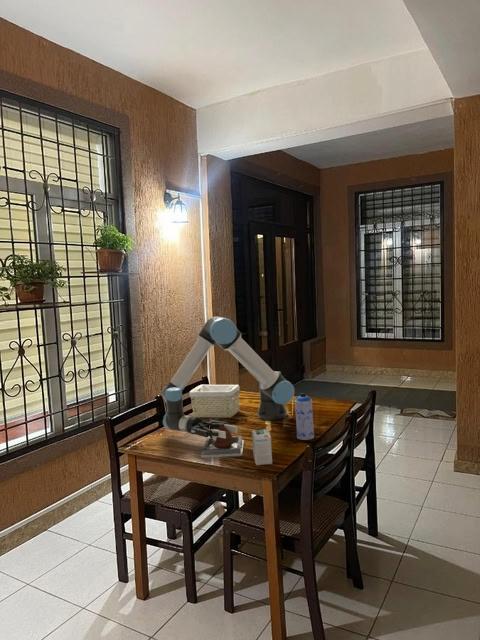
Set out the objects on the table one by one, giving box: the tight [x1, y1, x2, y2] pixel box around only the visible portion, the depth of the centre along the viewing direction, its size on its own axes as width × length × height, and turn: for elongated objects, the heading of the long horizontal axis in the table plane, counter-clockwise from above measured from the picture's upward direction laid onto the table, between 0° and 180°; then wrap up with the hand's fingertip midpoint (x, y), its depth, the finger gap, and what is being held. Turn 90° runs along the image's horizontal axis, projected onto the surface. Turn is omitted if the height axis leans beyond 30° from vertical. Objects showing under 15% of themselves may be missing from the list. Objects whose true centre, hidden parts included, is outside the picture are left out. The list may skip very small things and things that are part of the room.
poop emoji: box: [212, 425, 234, 449], centre depth 208 cm, size 10×8×9 cm
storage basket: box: [189, 384, 241, 419], centre depth 262 cm, size 24×16×15 cm
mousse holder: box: [200, 435, 245, 459], centre depth 209 cm, size 17×16×3 cm
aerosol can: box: [294, 392, 315, 441], centre depth 217 cm, size 8×8×20 cm
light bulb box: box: [251, 428, 273, 466], centre depth 194 cm, size 11×7×11 cm, turn 5°
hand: (230, 432), depth 205 cm, fingers closed on poop emoji, 7 cm apart
